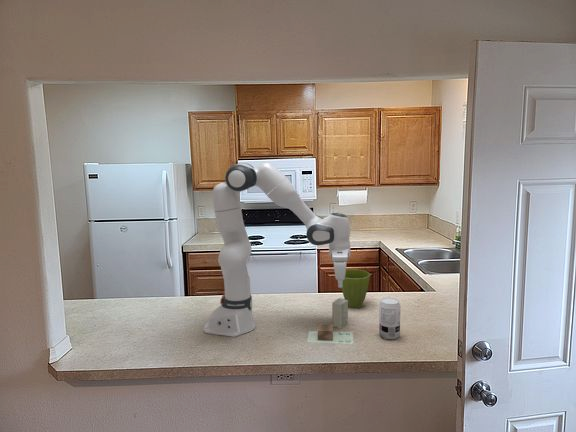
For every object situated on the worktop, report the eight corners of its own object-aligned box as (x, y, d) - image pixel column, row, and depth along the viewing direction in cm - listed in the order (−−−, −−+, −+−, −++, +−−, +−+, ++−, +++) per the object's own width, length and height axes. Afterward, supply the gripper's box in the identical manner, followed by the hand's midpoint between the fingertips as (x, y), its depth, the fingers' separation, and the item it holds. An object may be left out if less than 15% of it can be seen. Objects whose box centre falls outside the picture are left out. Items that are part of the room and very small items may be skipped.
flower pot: (332, 305, 200) (332, 274, 197) (351, 297, 209) (351, 267, 207) (356, 313, 189) (356, 280, 186) (375, 304, 199) (376, 273, 196)
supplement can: (375, 333, 169) (375, 299, 166) (392, 329, 171) (392, 296, 169) (386, 341, 161) (387, 306, 159) (404, 337, 164) (404, 302, 161)
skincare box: (339, 324, 178) (339, 297, 176) (348, 326, 176) (348, 300, 173) (331, 329, 174) (331, 302, 172) (340, 331, 171) (340, 304, 169)
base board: (307, 345, 159) (307, 340, 159) (309, 334, 169) (309, 329, 169) (353, 347, 157) (353, 342, 157) (352, 335, 167) (352, 330, 167)
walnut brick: (317, 340, 161) (317, 330, 160) (318, 333, 167) (318, 324, 166) (332, 340, 160) (332, 331, 159) (333, 333, 166) (332, 324, 165)
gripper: (332, 245, 179) (333, 275, 182) (331, 258, 159) (332, 291, 162) (346, 245, 179) (347, 275, 181) (348, 258, 159) (348, 291, 161)
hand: (340, 283), depth 171 cm, fingers open, 8 cm apart
